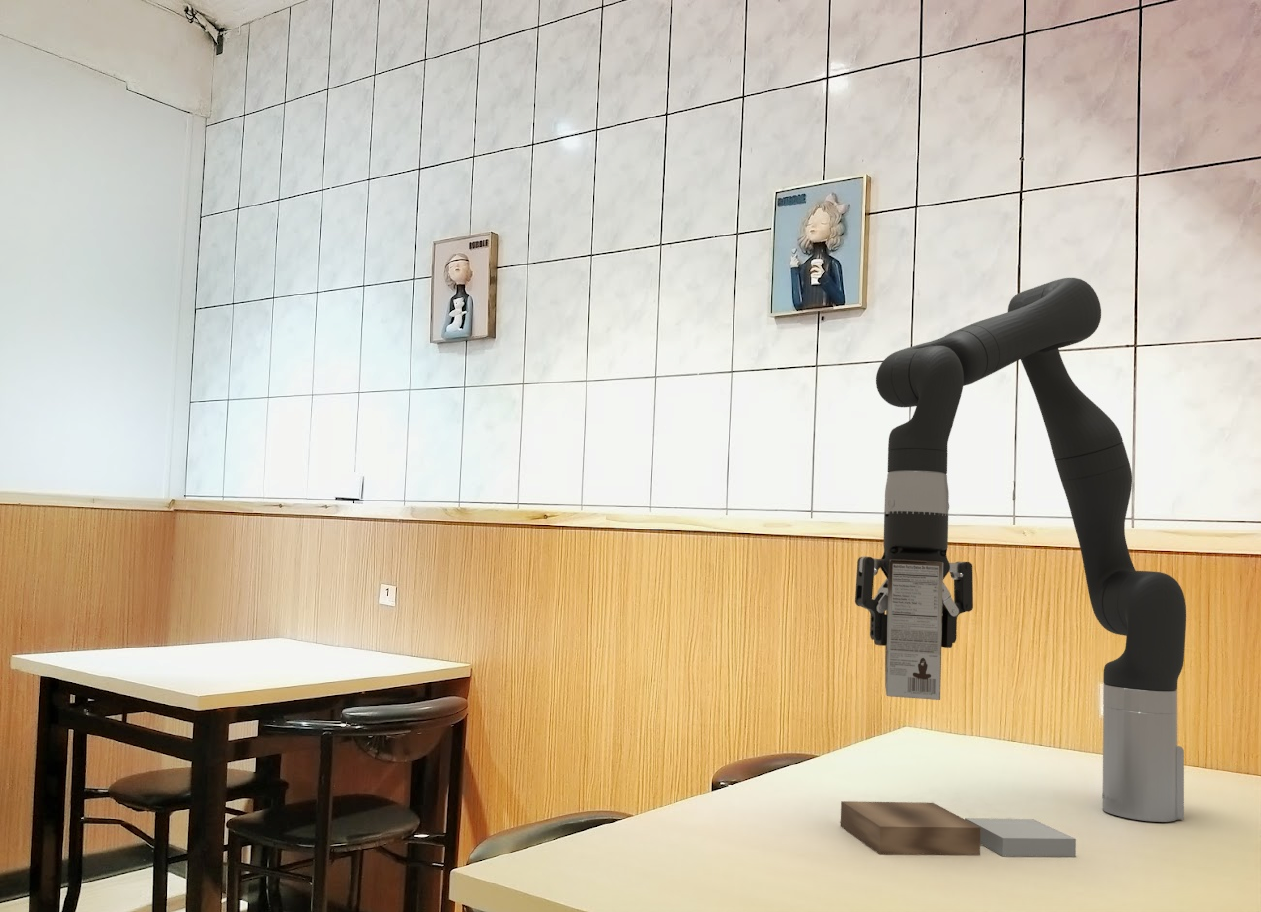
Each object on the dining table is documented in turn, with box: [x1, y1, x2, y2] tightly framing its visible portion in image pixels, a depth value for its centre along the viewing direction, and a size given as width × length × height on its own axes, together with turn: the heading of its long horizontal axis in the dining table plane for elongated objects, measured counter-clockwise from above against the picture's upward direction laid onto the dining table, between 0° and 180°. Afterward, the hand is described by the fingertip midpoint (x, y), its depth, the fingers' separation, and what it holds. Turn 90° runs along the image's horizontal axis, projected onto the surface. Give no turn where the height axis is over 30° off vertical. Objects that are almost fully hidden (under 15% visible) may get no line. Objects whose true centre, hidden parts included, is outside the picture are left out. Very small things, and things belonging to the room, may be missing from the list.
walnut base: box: [840, 800, 981, 856], centre depth 124 cm, size 12×12×3 cm
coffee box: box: [884, 559, 944, 701], centre depth 127 cm, size 9×6×16 cm
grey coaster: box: [964, 817, 1077, 858], centre depth 124 cm, size 9×9×2 cm
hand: (912, 646), depth 126 cm, fingers closed on coffee box, 8 cm apart
